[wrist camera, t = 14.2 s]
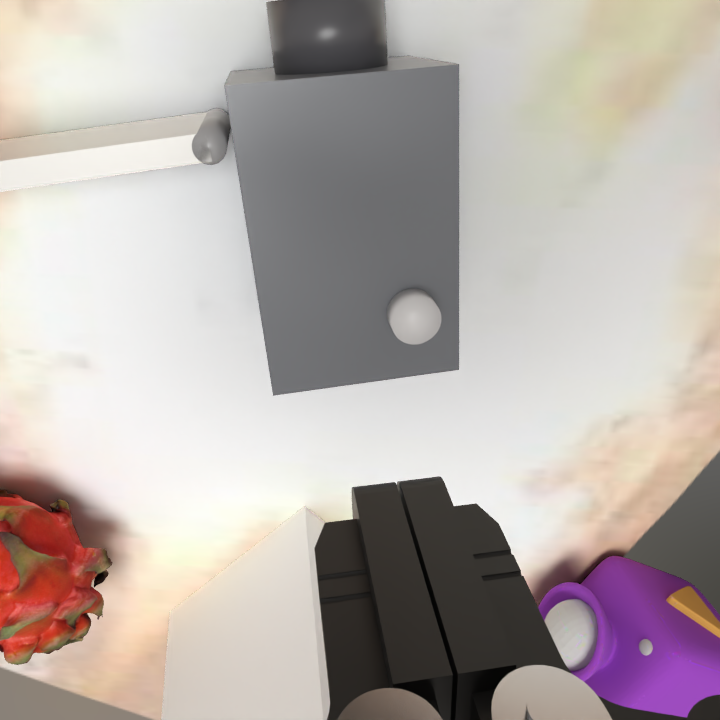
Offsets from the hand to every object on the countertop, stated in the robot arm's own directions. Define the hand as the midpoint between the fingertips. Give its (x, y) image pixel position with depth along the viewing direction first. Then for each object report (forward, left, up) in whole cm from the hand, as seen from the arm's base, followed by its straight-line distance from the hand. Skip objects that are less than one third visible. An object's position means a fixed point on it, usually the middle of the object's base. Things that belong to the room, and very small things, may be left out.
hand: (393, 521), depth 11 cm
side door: (-4, -10, -23) cm, 25 cm away
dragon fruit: (+17, -18, -24) cm, 34 cm away
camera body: (-1, +2, -23) cm, 23 cm away
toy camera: (+32, +19, -24) cm, 44 cm away
